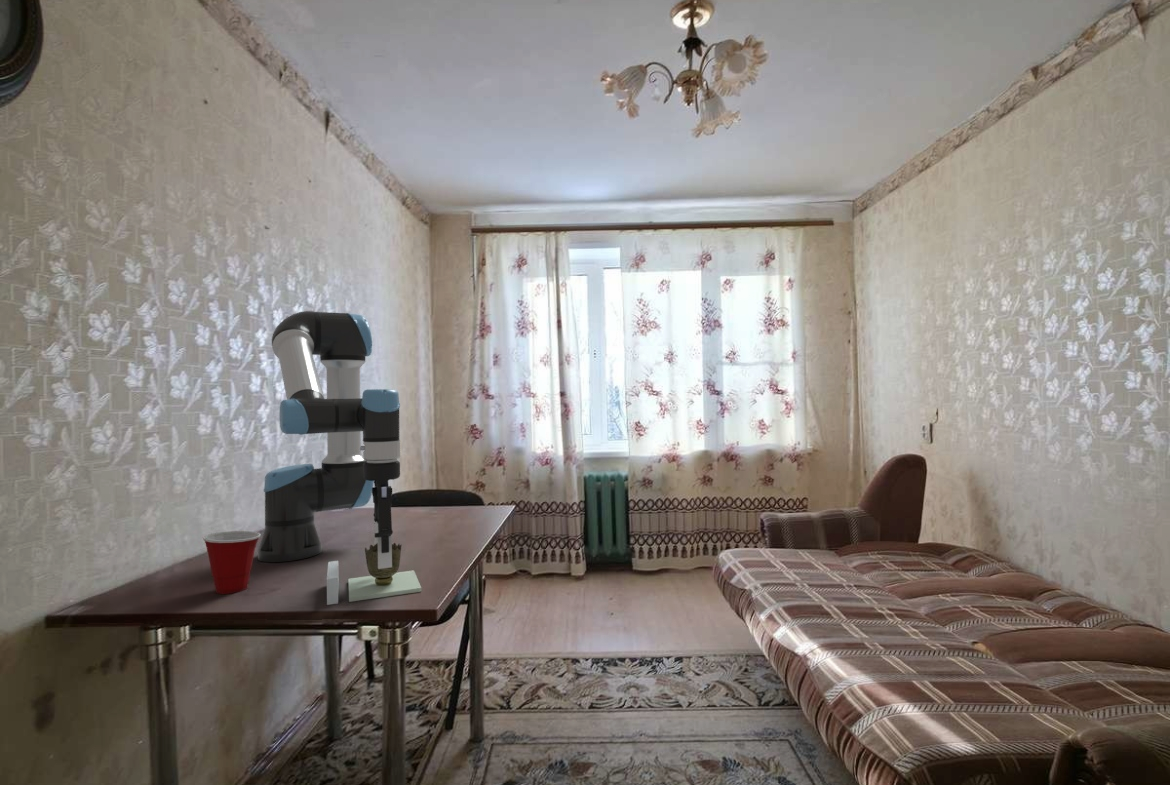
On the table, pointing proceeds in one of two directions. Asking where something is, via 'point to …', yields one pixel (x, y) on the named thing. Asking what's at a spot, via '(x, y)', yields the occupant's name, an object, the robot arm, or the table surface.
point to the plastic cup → (231, 559)
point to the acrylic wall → (332, 583)
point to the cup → (383, 574)
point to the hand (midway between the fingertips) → (382, 559)
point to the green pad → (383, 586)
